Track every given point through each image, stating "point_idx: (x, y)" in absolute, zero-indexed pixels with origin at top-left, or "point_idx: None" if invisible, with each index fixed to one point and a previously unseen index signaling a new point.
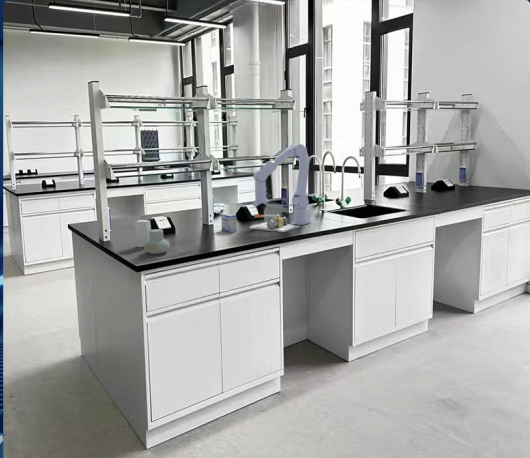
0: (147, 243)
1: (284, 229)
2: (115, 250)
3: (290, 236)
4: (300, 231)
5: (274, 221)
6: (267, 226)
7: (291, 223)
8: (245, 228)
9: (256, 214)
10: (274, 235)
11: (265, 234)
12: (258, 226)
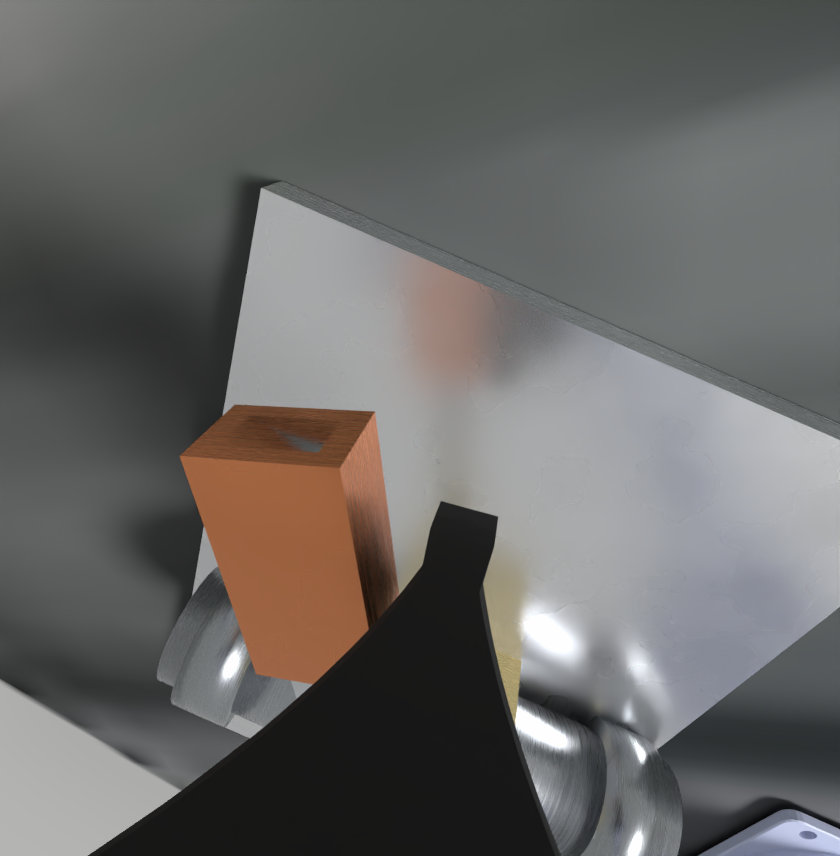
0: None
1: (235, 716)
2: None
3: (66, 713)
4: None
5: (263, 726)
6: (215, 573)
7: (778, 817)
8: (254, 60)
9: (249, 527)
10: (20, 606)
11: (4, 523)
12: (333, 393)
